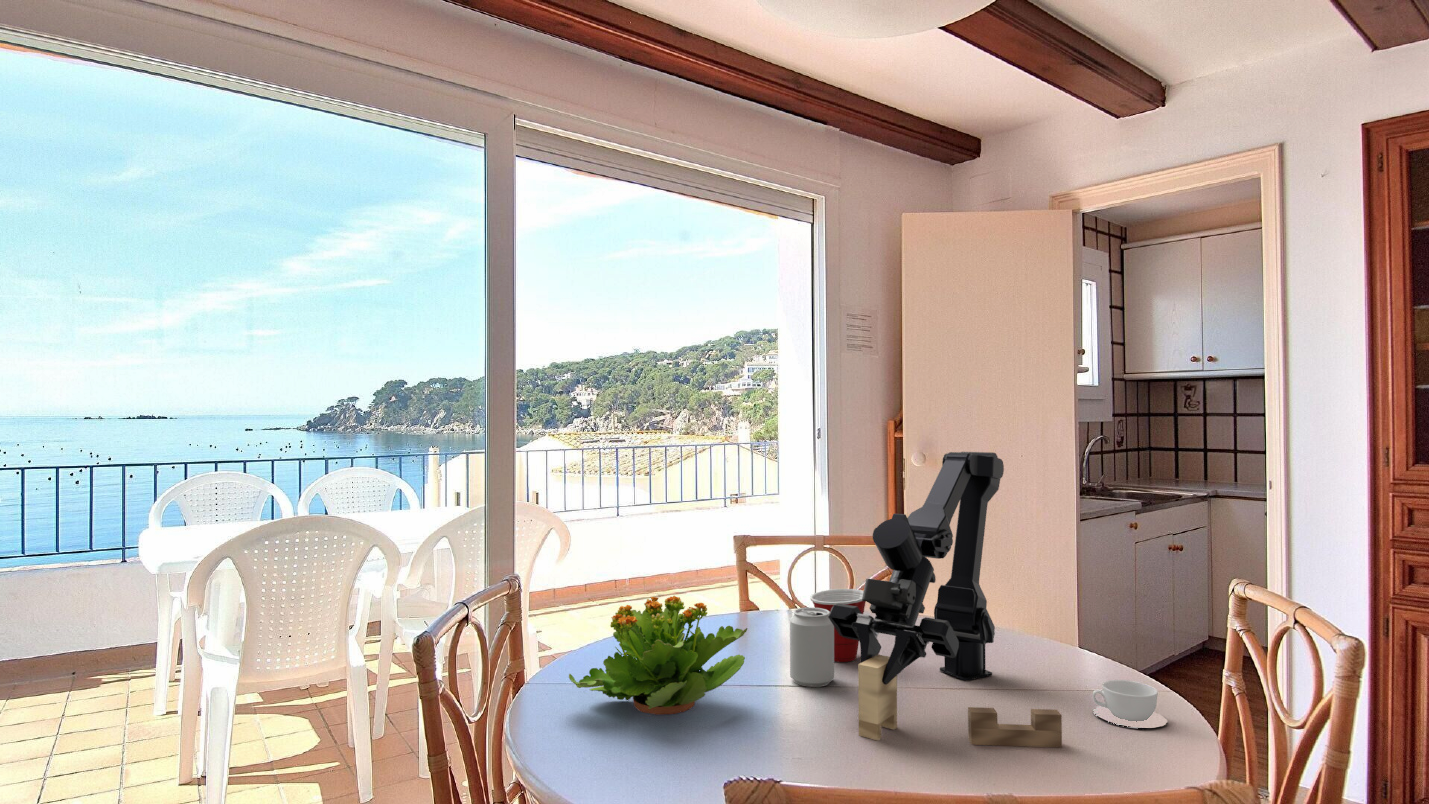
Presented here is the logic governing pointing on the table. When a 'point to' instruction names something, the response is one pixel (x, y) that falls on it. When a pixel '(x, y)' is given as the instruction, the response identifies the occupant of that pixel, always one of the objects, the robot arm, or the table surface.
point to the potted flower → (663, 658)
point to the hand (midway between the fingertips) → (873, 680)
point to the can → (811, 647)
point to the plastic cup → (842, 646)
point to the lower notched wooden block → (1015, 729)
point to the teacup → (1128, 699)
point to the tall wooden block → (876, 698)
